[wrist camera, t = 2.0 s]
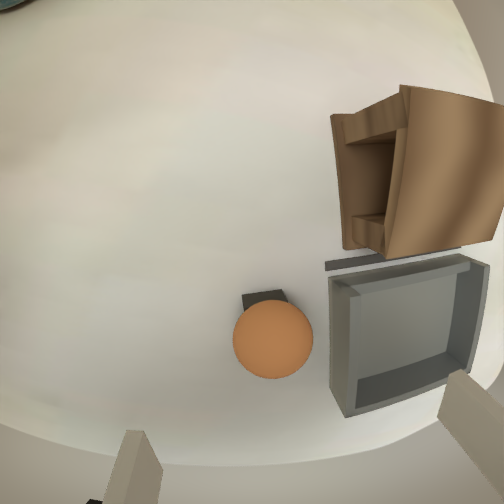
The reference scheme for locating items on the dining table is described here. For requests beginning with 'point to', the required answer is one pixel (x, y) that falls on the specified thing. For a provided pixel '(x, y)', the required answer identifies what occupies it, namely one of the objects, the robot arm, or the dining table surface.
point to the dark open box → (262, 297)
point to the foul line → (367, 260)
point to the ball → (272, 339)
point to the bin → (403, 329)
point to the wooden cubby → (420, 172)
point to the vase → (9, 3)
